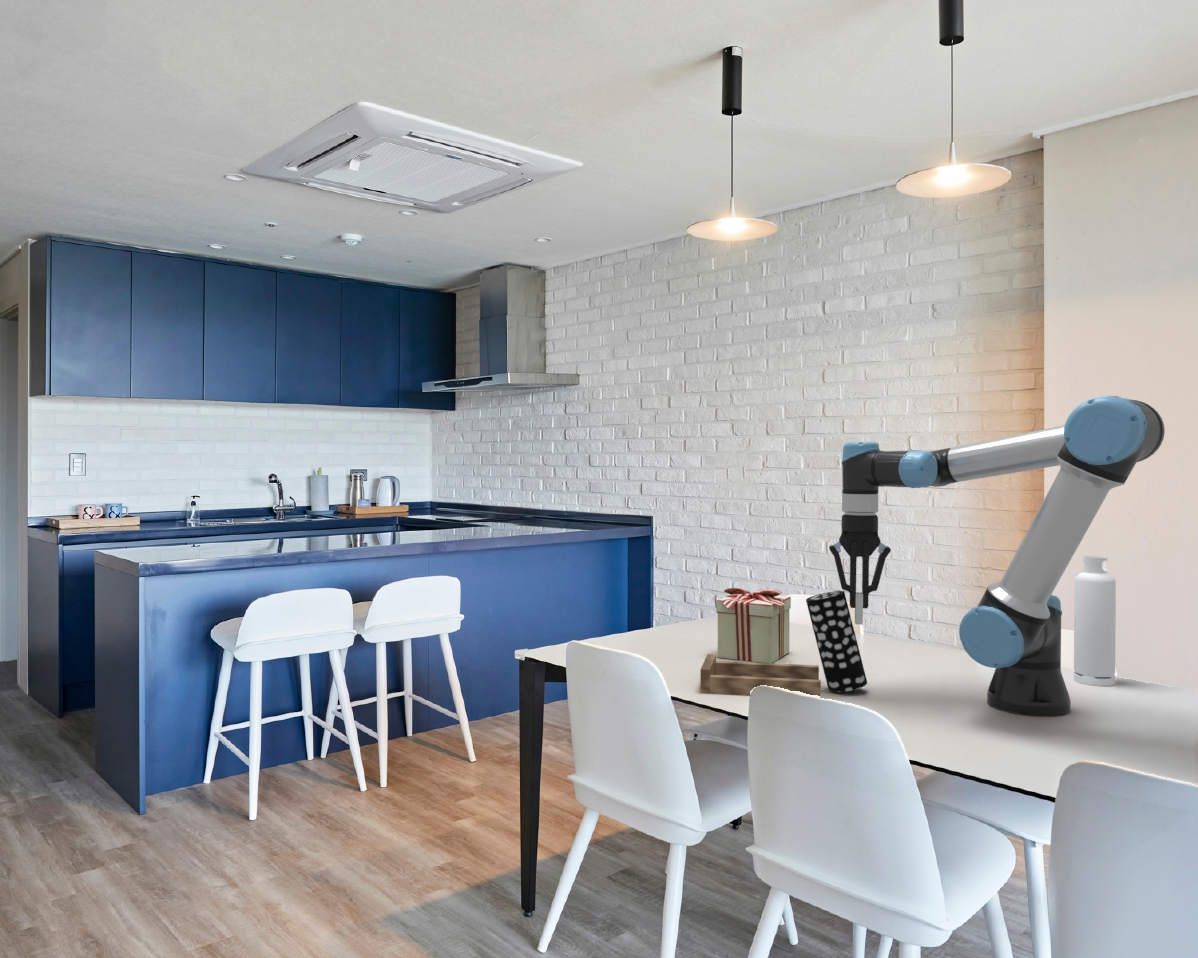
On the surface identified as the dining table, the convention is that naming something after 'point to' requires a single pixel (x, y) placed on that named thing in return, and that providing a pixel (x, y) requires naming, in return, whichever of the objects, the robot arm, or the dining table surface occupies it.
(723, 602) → the gift box
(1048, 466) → the robot arm
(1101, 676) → the bottle
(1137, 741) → the dining table surface
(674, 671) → the dining table surface
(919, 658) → the dining table surface
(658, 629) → the dining table surface
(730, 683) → the cradle
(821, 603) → the spotted tube
